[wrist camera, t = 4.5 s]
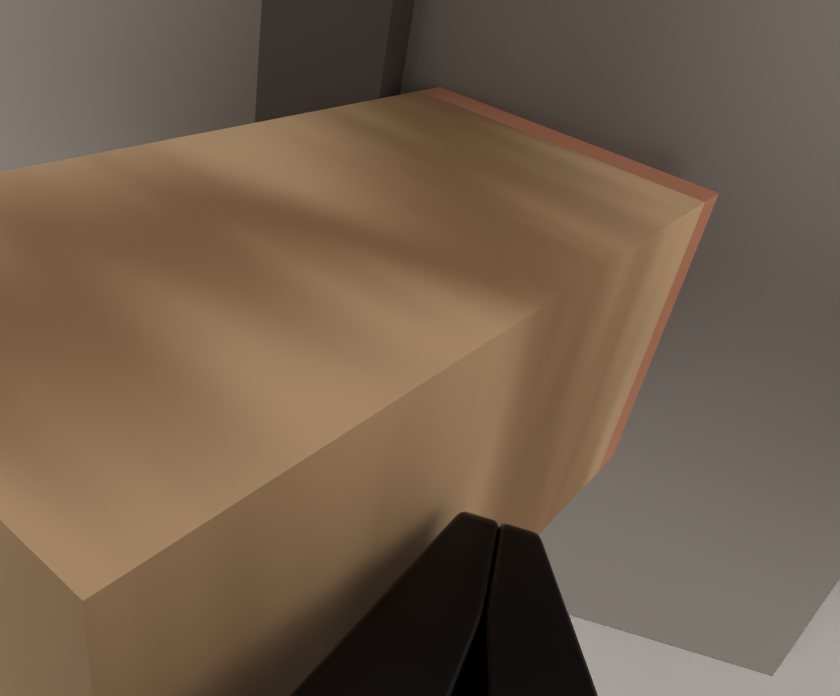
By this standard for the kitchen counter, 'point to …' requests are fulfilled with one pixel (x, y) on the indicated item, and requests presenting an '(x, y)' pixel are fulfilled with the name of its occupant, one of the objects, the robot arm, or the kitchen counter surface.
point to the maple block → (303, 375)
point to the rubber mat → (608, 129)
